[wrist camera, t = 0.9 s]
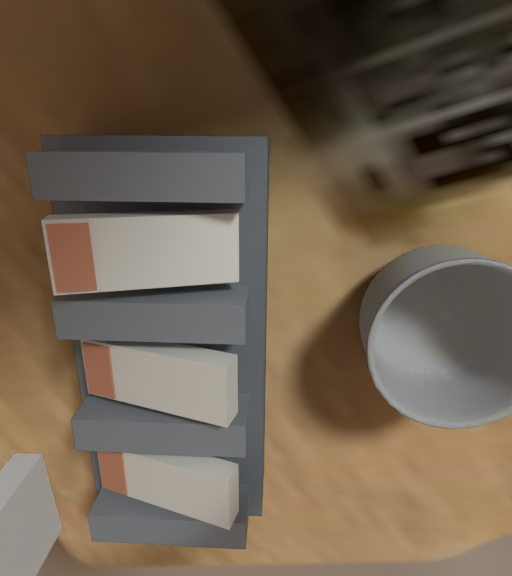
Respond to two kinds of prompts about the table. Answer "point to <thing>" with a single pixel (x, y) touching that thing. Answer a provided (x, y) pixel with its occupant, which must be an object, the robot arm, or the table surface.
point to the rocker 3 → (176, 483)
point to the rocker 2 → (165, 378)
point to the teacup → (441, 336)
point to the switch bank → (167, 314)
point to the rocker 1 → (141, 250)
